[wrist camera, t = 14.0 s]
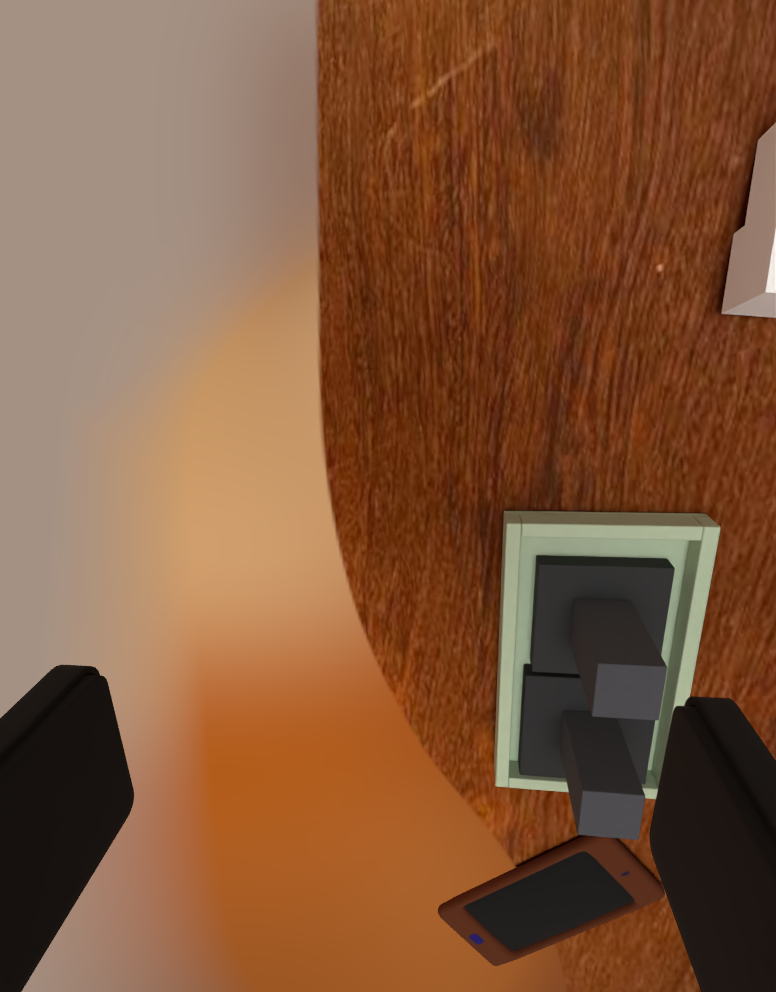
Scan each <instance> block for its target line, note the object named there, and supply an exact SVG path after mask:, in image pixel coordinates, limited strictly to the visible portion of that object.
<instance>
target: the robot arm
mask: <svg viewBox="0 0 776 992" xmlns="http://www.w3.org/2000/svg"><path fill="white" fill-rule="evenodd" d="M133 801H134V790H133V786H132V782H131V778H130V774H129V770H128V766H127V761H126V757H125V753H124V749H123V744H122V740H121V736H120V732H119V728H118V724H117V720H116V715H115V711H114V707H113V703H112V699H111V695H110V690H109V686H108V683H107V680H106V678H105V677H104V676H100V674H99V671H98V670H97V669H96V668H95V667H92V666H76V665H59V666H56V667H55V668H54V669H52V670H51V671H50V672H49V673H47V674H46V675H45V676H44V677H43V678H42V679H41V680H40V681H39V682H38V683H37V684H36V685H35V686H34V687H33V688H32V689H31V690H30V691H29V692H28V693H26V694H25V695H24V696H23V697H22V698H21V699H20V700H19V701H18V702H17V703H16V704H15V705H14V706H13V707H12V708H11V709H10V710H9V711H8V712H7V713H6V714H4V716H2V717H1V718H0V992H21V991H22V990H23V988H24V986H25V985H26V983H27V981H28V980H29V978H30V976H31V975H32V973H33V972H34V970H35V968H36V967H37V965H38V963H39V962H40V960H41V958H42V957H43V955H44V953H45V952H46V950H47V948H48V947H49V945H50V943H51V942H52V940H53V939H54V937H55V935H56V934H57V932H58V930H59V929H60V927H61V926H62V924H63V922H64V921H65V919H66V917H67V916H68V914H69V912H70V911H71V909H72V907H73V906H74V904H75V903H76V901H77V899H78V898H79V896H80V894H81V893H82V891H83V890H84V888H85V886H86V885H87V883H88V881H89V880H90V878H91V876H92V875H93V873H94V872H95V870H96V868H97V867H98V865H99V863H100V862H101V860H102V858H103V857H104V855H105V853H106V852H107V850H108V849H109V847H110V845H111V844H112V841H113V840H114V839H115V837H116V835H117V834H118V832H119V830H120V829H121V827H122V826H123V824H124V822H125V821H126V819H127V817H128V815H129V814H130V811H131V808H132V805H133ZM650 845H651V851H652V855H653V858H654V861H655V864H656V867H657V870H658V872H659V875H660V878H661V881H662V884H663V886H664V889H665V892H666V895H667V897H668V900H669V903H670V906H671V909H672V911H673V914H674V917H675V920H676V923H677V925H678V928H679V931H680V934H681V936H682V939H683V942H684V945H685V948H686V950H687V953H688V956H689V959H690V962H691V964H692V967H693V970H694V973H695V975H696V978H697V981H698V984H699V987H700V989H701V992H776V760H775V759H774V758H773V756H772V755H771V753H770V752H769V750H768V749H767V747H766V746H765V745H764V743H763V742H762V740H761V739H760V737H759V736H758V734H757V733H756V732H755V730H754V729H753V727H752V726H751V724H750V723H749V721H748V720H747V719H746V717H745V716H744V714H743V713H742V711H741V710H740V708H739V707H738V706H737V704H736V703H735V702H734V701H733V700H731V699H729V698H710V697H688V699H687V700H686V702H685V705H684V706H676V707H675V708H674V711H673V714H672V720H671V725H670V730H669V735H668V740H667V745H666V750H665V756H664V761H663V766H662V771H661V776H660V781H659V786H658V791H657V797H656V802H655V807H654V812H653V817H652V822H651V827H650Z"/></svg>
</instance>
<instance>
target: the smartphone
mask: <svg viewBox="0 0 776 992" xmlns="http://www.w3.org/2000/svg"><path fill="white" fill-rule="evenodd" d="M664 895H665V892H664V889H663V887H662V886H661V885H660V883H659V882H658V881H657V880H656V879H655V878H654V877H653V876H652V875H651V874H650V873H649V872H648V871H647V870H646V869H645V868H644V867H643V866H642V865H641V864H640V862H639V861H638V860H637V859H636V858H635V857H634V856H633V855H632V854H631V853H630V852H629V851H628V850H627V849H626V848H625V847H624V846H623V845H622V844H621V843H620V842H619V841H618V840H617V839H616V838H610V837H599V836H587V835H584V836H582V837H580V838H578V839H575V840H573V841H571V842H569V843H567V844H565V845H563V846H561V847H559V848H556V849H554V850H552V851H550V852H548V853H546V854H544V855H542V856H540V857H538V858H535V859H533V860H531V861H529V862H527V863H525V864H523V865H521V866H519V867H517V868H514V869H513V870H510V871H508V872H506V873H504V874H502V875H500V876H498V877H496V878H493V879H491V880H489V881H487V882H485V883H483V884H481V885H479V886H477V887H475V888H472V889H471V890H469V891H466V892H464V893H462V894H460V895H458V896H456V897H454V898H452V899H450V900H449V901H447V902H445V903H443V904H441V905H440V906H439V908H438V913H439V915H440V917H441V918H442V919H443V920H444V921H445V922H446V923H447V924H448V925H449V926H450V927H451V928H453V929H454V930H455V931H456V932H457V933H458V934H459V935H460V936H461V937H462V938H464V939H465V940H466V941H467V942H468V943H469V944H470V945H471V946H472V947H473V948H475V949H476V950H477V951H478V952H479V953H480V954H481V955H482V956H483V957H484V958H485V959H486V960H488V961H489V962H490V963H491V964H492V965H494V966H498V965H501V964H504V963H507V962H510V961H513V960H516V959H518V958H521V957H523V956H526V955H528V954H531V953H533V952H535V951H538V950H540V949H542V948H545V947H548V946H550V945H552V944H555V943H557V942H560V941H562V940H565V939H567V938H569V937H572V936H574V935H577V934H579V933H582V932H584V931H587V930H589V929H591V928H594V927H596V926H599V925H601V924H604V923H606V922H608V921H611V920H613V919H616V918H618V917H621V916H623V915H625V914H628V913H630V912H633V911H635V910H638V909H640V908H642V907H644V906H647V905H649V904H651V903H653V902H655V901H657V900H659V899H661V898H663V897H664Z"/></svg>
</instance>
